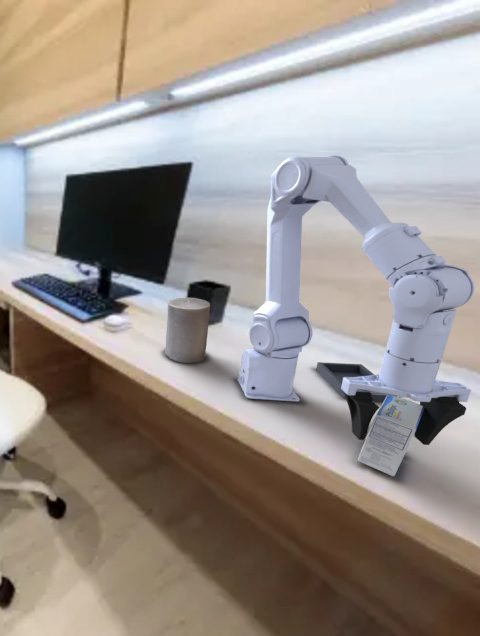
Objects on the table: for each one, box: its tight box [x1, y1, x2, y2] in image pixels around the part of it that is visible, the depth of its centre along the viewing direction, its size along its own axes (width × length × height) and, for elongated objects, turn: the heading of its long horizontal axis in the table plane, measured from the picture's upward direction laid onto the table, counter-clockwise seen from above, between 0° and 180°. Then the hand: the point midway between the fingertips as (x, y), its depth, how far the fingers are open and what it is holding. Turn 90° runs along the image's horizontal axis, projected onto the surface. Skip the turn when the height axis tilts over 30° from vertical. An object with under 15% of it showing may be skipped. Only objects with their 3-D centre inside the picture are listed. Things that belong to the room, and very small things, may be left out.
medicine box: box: [357, 395, 424, 477], centre depth 56 cm, size 8×4×9 cm, turn 132°
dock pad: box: [315, 361, 387, 402], centre depth 78 cm, size 9×13×2 cm
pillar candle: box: [164, 297, 211, 364], centre depth 93 cm, size 10×10×15 cm
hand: (389, 438), depth 57 cm, fingers open, 7 cm apart
